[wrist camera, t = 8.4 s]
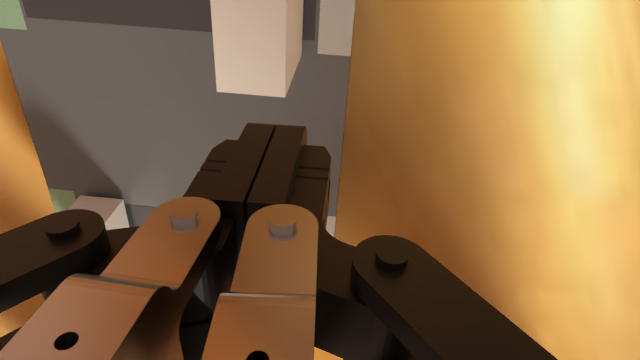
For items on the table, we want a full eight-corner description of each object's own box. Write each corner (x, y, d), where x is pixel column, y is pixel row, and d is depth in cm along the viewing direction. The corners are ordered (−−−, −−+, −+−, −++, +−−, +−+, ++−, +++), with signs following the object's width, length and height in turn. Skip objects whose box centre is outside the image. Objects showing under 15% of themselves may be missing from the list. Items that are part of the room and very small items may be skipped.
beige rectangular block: (305, -48, 22) (286, -28, 17) (301, 54, 25) (284, 97, 20) (243, -53, 22) (207, -33, 17) (246, 50, 25) (216, 91, 20)
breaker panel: (363, -84, 23) (362, -81, 22) (331, 266, 36) (329, 285, 35) (-19, -109, 24) (-48, -109, 23) (84, 241, 37) (70, 258, 36)
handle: (123, 199, 32) (77, 258, 27) (135, 254, 34) (96, 317, 29) (80, 195, 32) (27, 253, 27) (95, 250, 34) (50, 312, 30)
